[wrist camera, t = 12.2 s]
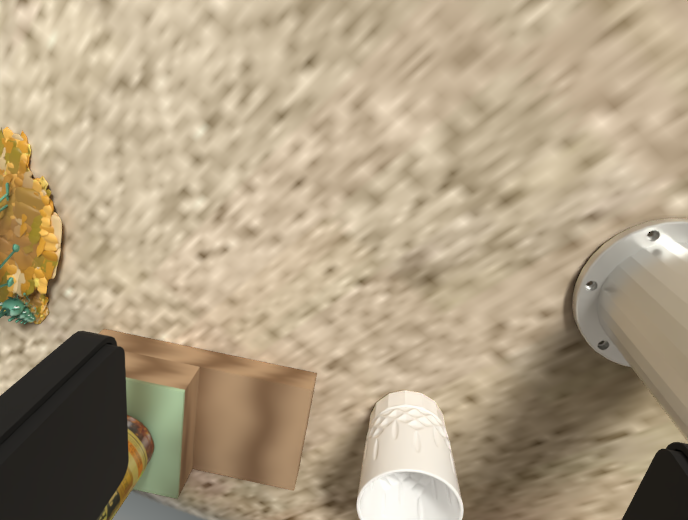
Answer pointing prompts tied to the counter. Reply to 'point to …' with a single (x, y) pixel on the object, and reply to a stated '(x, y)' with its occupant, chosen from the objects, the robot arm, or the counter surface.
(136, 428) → the sauce bottle
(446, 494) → the white cup
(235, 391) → the stand
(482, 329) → the counter surface
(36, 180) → the teal toy figure
